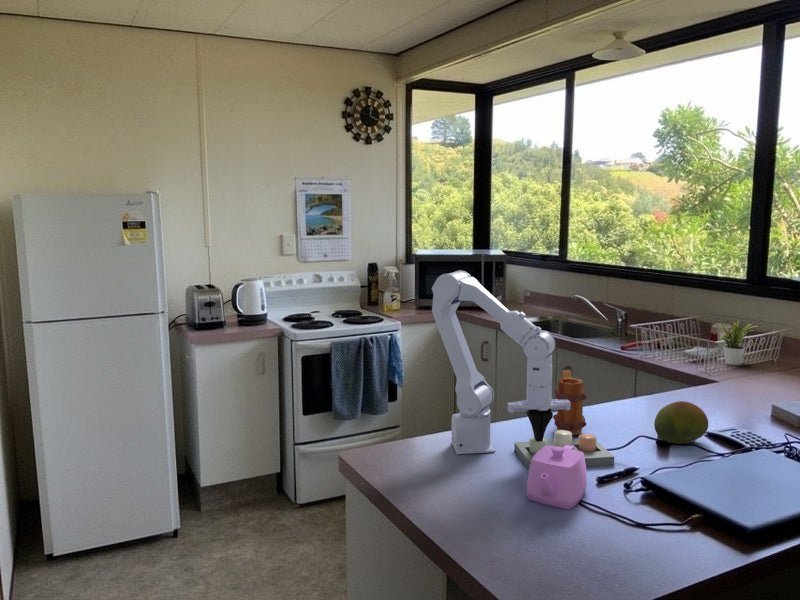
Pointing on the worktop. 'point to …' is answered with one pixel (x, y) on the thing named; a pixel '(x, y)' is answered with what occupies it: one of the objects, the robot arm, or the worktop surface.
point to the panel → (591, 458)
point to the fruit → (681, 422)
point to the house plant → (735, 344)
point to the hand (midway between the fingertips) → (538, 440)
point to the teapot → (557, 476)
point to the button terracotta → (587, 443)
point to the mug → (574, 394)
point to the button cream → (562, 438)
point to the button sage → (536, 445)
